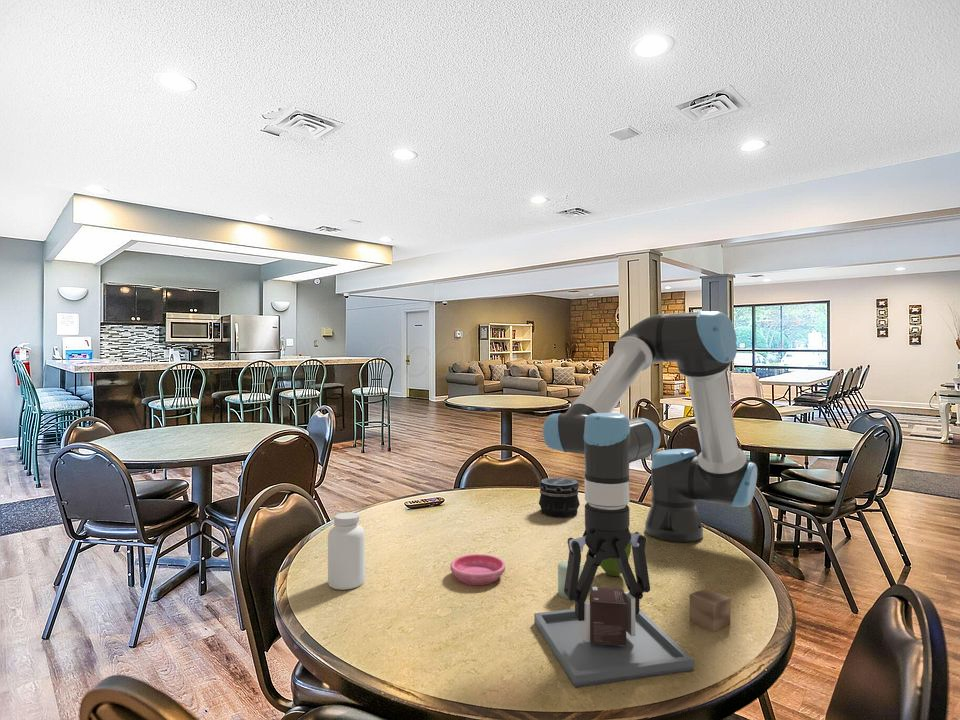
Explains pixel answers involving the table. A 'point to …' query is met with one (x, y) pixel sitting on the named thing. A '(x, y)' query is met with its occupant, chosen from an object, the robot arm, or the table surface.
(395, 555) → the table surface
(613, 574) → the apple
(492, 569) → the pink shallow round dish
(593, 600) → the box
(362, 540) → the pill bottle
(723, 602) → the walnut block
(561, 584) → the sage canister
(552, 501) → the container
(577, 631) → the tray
